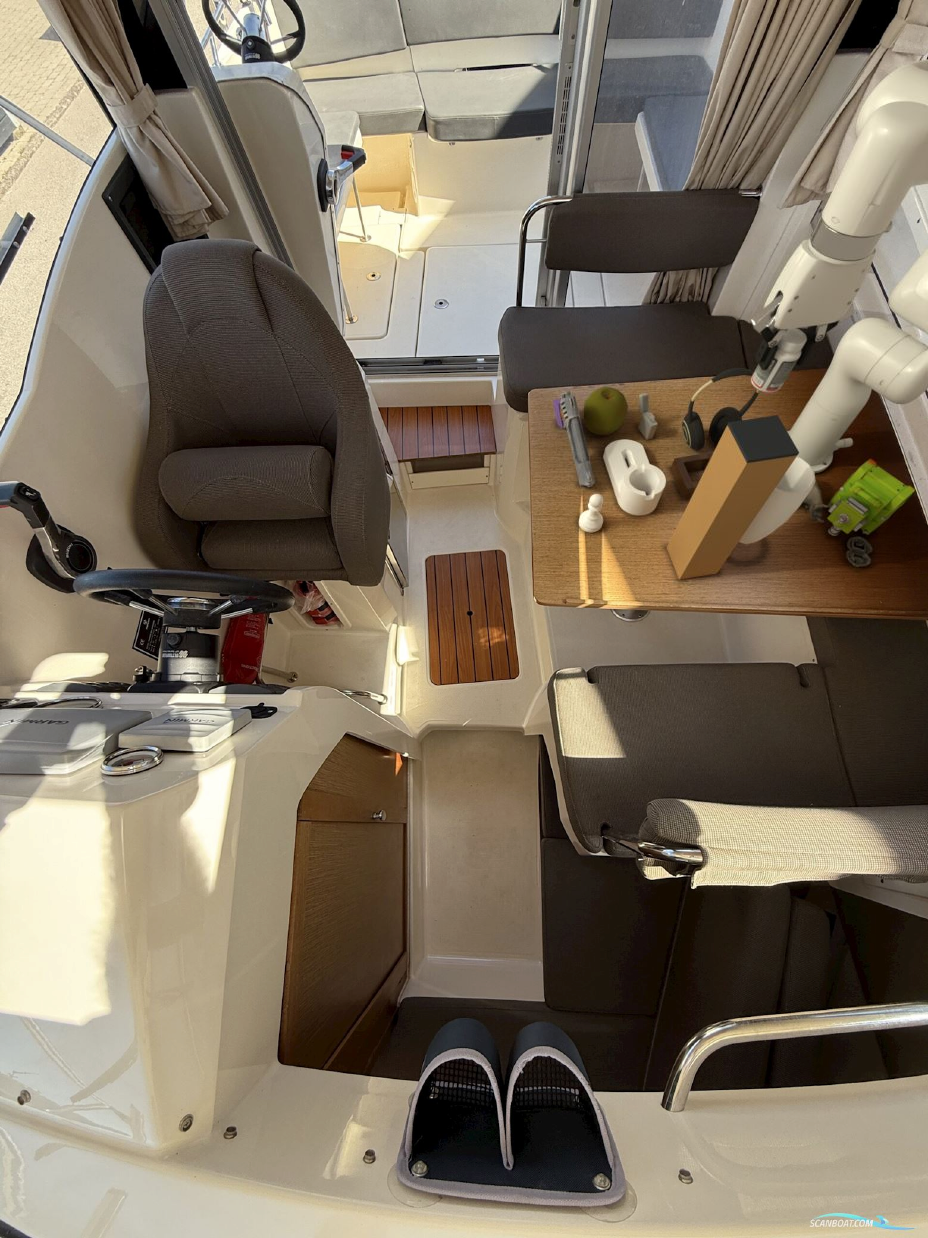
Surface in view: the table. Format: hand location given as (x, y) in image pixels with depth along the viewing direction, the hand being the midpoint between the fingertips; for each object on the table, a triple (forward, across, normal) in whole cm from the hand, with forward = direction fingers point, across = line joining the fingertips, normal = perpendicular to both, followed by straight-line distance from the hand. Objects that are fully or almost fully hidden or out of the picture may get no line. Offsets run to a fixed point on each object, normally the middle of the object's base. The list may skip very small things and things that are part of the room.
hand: (778, 360), depth 87 cm
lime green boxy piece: (+34, -36, +3) cm, 49 cm away
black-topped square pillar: (+40, +3, +9) cm, 42 cm away
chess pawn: (+41, +22, -4) cm, 46 cm away
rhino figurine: (+40, -24, 0) cm, 47 cm away
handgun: (+44, +20, -29) cm, 56 cm away
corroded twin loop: (+40, -30, +14) cm, 52 cm away
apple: (+41, +12, -30) cm, 52 cm away
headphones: (+41, -10, -22) cm, 47 cm away
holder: (+40, -4, -11) cm, 42 cm away
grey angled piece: (+41, +3, -28) cm, 50 cm away
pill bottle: (+4, 0, 0) cm, 4 cm away
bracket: (+41, +10, -14) cm, 44 cm away
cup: (+41, -8, +7) cm, 42 cm away
